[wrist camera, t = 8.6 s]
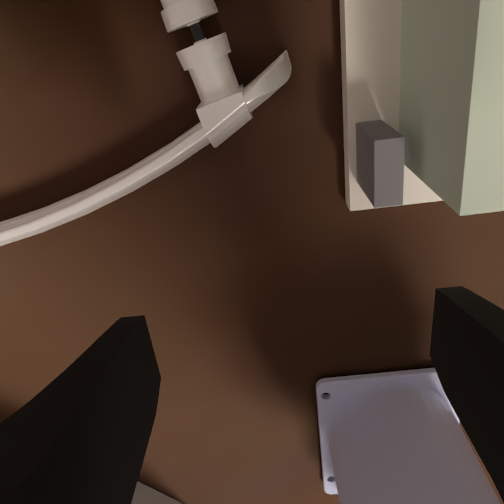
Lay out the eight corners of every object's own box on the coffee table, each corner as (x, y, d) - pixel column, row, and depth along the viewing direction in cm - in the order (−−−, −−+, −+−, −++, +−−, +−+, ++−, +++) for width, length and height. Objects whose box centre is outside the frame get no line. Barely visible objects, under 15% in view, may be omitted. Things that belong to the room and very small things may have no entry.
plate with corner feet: (505, 184, 20) (561, 219, 16) (345, 202, 20) (366, 241, 16) (567, -262, 13) (682, -366, 10) (332, -223, 14) (361, -309, 10)
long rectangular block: (473, 150, 18) (567, 203, 13) (398, 159, 18) (459, 215, 13) (507, -178, 13) (676, -311, 8) (406, -162, 14) (506, -281, 8)
